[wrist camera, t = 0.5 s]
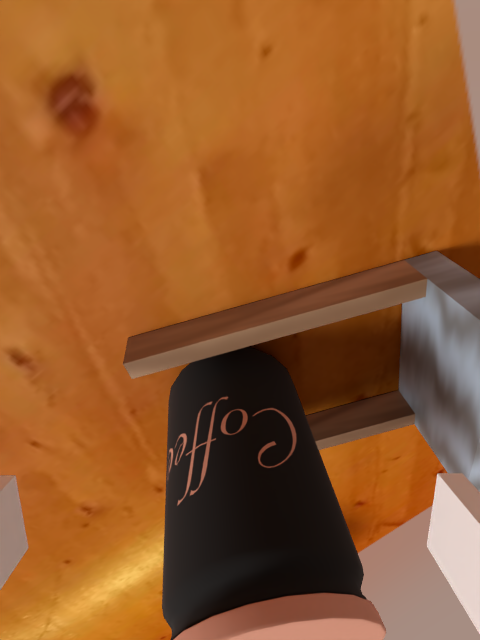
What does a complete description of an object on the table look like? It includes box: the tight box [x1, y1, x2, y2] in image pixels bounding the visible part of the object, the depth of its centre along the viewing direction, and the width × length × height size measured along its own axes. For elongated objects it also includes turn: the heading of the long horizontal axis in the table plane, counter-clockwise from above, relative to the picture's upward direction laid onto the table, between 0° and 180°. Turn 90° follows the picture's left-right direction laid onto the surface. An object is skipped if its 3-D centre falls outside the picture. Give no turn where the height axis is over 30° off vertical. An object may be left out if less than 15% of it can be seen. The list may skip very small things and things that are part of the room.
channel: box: [123, 251, 480, 492], centre depth 27 cm, size 16×24×10 cm, turn 103°
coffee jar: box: [162, 347, 386, 640], centre depth 24 cm, size 11×11×18 cm
